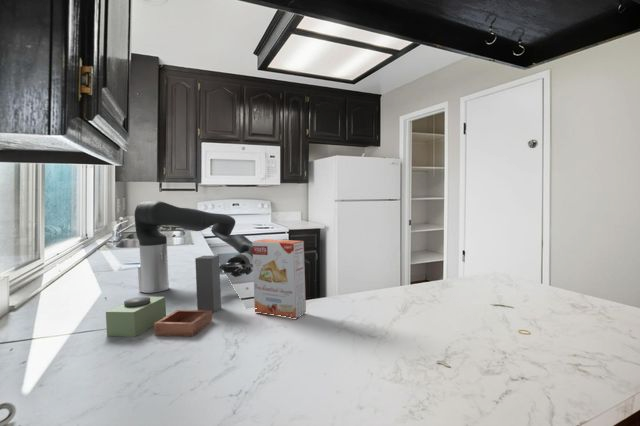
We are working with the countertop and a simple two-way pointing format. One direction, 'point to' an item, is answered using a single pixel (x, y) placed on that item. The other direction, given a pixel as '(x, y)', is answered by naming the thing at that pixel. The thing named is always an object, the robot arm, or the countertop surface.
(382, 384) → the countertop surface
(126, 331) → the green block with knob
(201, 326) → the collar
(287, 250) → the cracker box
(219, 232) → the robot arm
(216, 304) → the block
